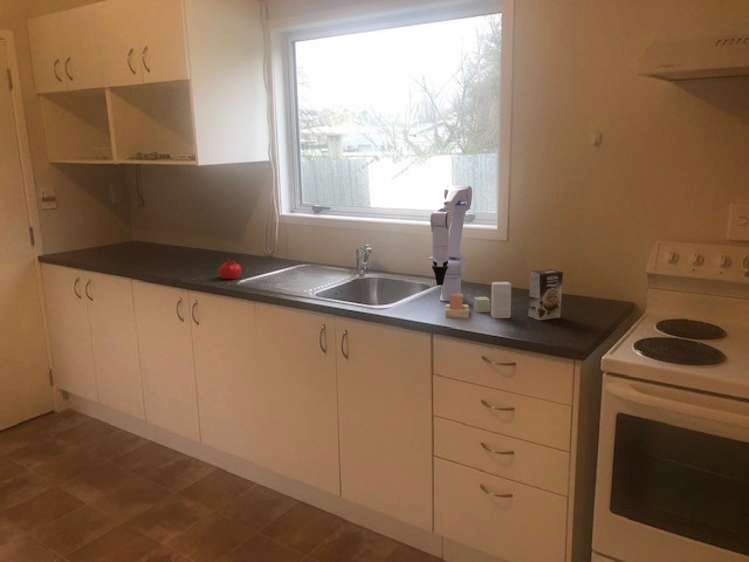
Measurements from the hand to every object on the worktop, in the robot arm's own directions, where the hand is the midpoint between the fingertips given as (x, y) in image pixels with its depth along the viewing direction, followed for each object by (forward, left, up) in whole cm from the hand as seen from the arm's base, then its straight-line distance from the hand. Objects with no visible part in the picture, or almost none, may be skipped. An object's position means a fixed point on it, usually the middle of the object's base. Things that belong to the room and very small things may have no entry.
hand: (440, 282), depth 222 cm
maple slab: (+6, +6, -10) cm, 13 cm away
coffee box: (+7, +36, -10) cm, 38 cm away
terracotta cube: (+6, +6, -7) cm, 11 cm away
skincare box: (+8, +21, -10) cm, 25 cm away
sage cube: (0, +15, -10) cm, 18 cm away
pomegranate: (-46, -95, -10) cm, 106 cm away
